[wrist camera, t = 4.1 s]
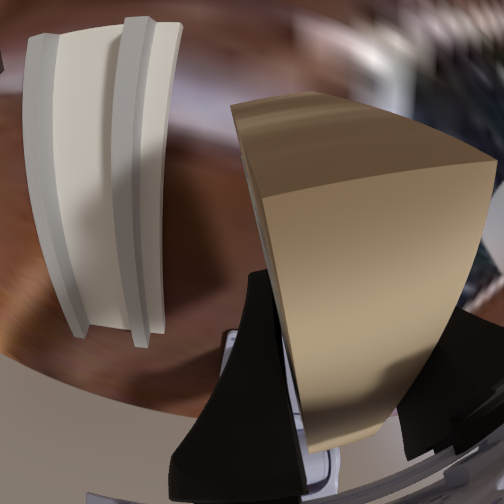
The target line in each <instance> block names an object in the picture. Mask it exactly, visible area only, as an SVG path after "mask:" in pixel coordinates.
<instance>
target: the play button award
mask: <svg viewBox="0 0 504 504" xmlns="http://www.w3.org/2000/svg"><path fill="white" fill-rule="evenodd" d="M3 70H4V66H3V62H2V57H1V52H0V73H1V72H2V71H3Z"/></svg>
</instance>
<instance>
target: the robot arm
mask: <svg viewBox="0 0 504 504" xmlns="http://www.w3.org/2000/svg"><path fill="white" fill-rule="evenodd" d="M396 407H397V412H398V416H399V421H400V425H401V431H402V437H403V443H404V451H405V455H406V458H407V461H410V460H412V459H414V458H416V457H418V456H420V455H422V454H424V453H426V452H428V451H430V450H432V449H433V450H434V453H435V455H433V456H431V457H429V458H427V459H425V460H424V461H422V462H419V463H417V464H415V465H413V466H411V467H409V468H407V469H404V470H402V471H400V472H398V473H395V474H393V475H390V476H388V477H385V478H383V479H380V480H378V481H375V482H372V483H369V484H367V485H363V486H361V487H357V488H354V489H351V490H348V491H344V492H341V493H337V488H338V471H339V468H340V451H339V447H336V448H333V449H329V450H325V451H321V452H317V453H313V454H309V452H308V447H307V442H306V438H305V433H304V428H303V424H302V422H301V419H300V414H299V410H298V405H297V400H296V396H295V391H294V387H293V382H292V378H291V373H290V368H289V364H288V359H287V355H286V351H285V346H284V342H283V337H282V332H281V327H280V322H279V318H278V313H277V308H276V304H275V299H274V295H273V290H272V286H271V281H270V277H269V273H268V269H265V270H260V271H256V272H251V273H250V274H249V275H248V287H247V294H246V300H245V305H244V309H243V313H242V318H241V322H240V325H239V328H238V331H237V330H232V331H229V332H228V334H227V339H226V344H225V349H224V355H223V360H222V365H221V370H220V379H219V381H218V383H217V385H216V387H215V389H214V391H213V393H212V395H211V397H210V399H209V400H208V402H207V404H206V405H205V407H204V409H203V411H202V412H201V414H200V416H199V417H198V419H197V420H196V423H195V424H194V425H193V427H192V428H191V430H190V431H189V433H188V434H187V435H186V437H185V438H184V440H183V441H182V442H181V444H180V445H179V446H178V448H177V449H176V450H175V452H174V453H173V454H172V456H171V461H170V466H169V474H168V484H169V485H168V486H169V499H170V500H171V501H175V502H187V503H194V504H365V503H367V502H370V501H373V500H376V499H379V498H381V497H384V496H387V495H389V494H392V493H394V492H396V491H399V490H401V489H403V488H405V487H408V486H410V485H412V484H414V483H416V482H418V481H420V480H422V479H424V478H426V477H428V476H430V475H432V474H434V473H436V472H438V471H439V470H441V469H443V468H445V467H446V466H448V465H450V464H452V463H453V462H455V461H456V460H458V459H460V458H461V457H463V456H464V455H466V454H467V453H469V452H470V451H472V450H473V449H475V448H476V447H478V446H479V449H478V451H476V452H474V453H472V454H470V455H469V456H467V457H465V458H463V459H462V460H460V461H458V462H456V463H455V464H453V465H452V466H451V467H449V468H448V469H447V470H445V471H444V473H443V474H444V478H443V479H441V480H439V481H437V482H435V483H433V484H431V485H429V486H427V487H425V488H422V489H420V490H418V491H416V492H414V493H412V494H409V495H406V496H404V497H402V498H399V499H396V500H394V501H392V502H389V503H386V504H504V327H502V326H499V325H496V324H494V323H491V322H489V321H486V320H484V319H482V318H479V317H477V316H475V315H473V314H471V313H469V312H467V311H465V310H463V309H461V308H459V307H457V306H455V308H454V310H453V312H452V315H451V317H450V319H449V321H448V323H447V325H446V327H445V329H444V331H443V333H442V335H441V337H440V338H439V340H438V342H437V344H436V346H435V348H434V349H433V351H432V353H431V355H430V356H429V358H428V360H427V361H426V363H425V365H424V366H423V368H422V370H421V371H420V373H419V374H418V376H417V377H416V379H415V381H414V382H413V384H412V385H411V387H410V388H409V389H408V391H407V392H406V394H405V395H404V397H403V398H402V399H401V401H400V402H399V404H398V405H397V406H396ZM86 504H143V503H137V502H131V501H126V500H121V499H114V498H110V497H106V496H102V495H98V494H94V493H90V492H87V493H86Z"/></svg>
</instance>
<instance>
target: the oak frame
mask: <svg viewBox="0 0 504 504" xmlns="http://www.w3.org/2000/svg"><path fill="white" fill-rule="evenodd" d="M230 108H231V112H232V116H233V120H234V124H235V128H236V132H237V137H238V141H239V145H240V149H241V153H242V156H241V158H242V162H243V166H244V171H245V175H246V179H247V183H248V187H249V192H250V196H251V200H252V204H253V209H254V213H255V217H256V222H257V226H258V230H259V235H260V239H261V243H262V248H263V252H264V257H265V261H266V265H267V269H268V273H269V277H270V281H271V286H272V290H273V295H274V299H275V304H276V308H277V313H278V318H279V322H280V327H281V332H282V337H283V342H284V346H285V351H286V355H287V359H288V364H289V368H290V373H291V378H292V382H293V387H294V391H295V396H296V400H297V405H298V410H299V414H300V419H301V422H302V424H303V428H304V433H305V438H306V442H307V447H308V452H309V454H313V453H317V452H321V451H325V450H329V449H333V448H336V447H340V446H343V445H346V444H350V443H353V442H356V441H359V440H362V439H365V438H367V437H370V436H373V435H374V434H375V433H376V432H377V430H378V429H379V428H380V427H381V425H382V424H383V423H384V422H385V421H386V419H387V418H388V417H389V416H390V414H391V413H392V412H393V410H394V409H395V408H396V406H397V405H398V404H399V402H400V401H401V399H402V398H403V397H404V395H405V394H406V392H407V391H408V389H409V388H410V387H411V385H412V384H413V382H414V381H415V379H416V377H417V376H418V374H419V373H420V371H421V370H422V368H423V366H424V365H425V363H426V361H427V360H428V358H429V356H430V355H431V353H432V351H433V349H434V348H435V346H436V344H437V342H438V340H439V338H440V337H441V335H442V333H443V331H444V329H445V327H446V325H447V323H448V321H449V319H450V317H451V315H452V312H453V310H454V308H455V306H456V304H457V301H458V299H459V297H460V295H461V292H462V290H463V287H464V285H465V282H466V280H467V277H468V275H469V272H470V269H471V267H472V264H473V261H474V258H475V255H476V252H477V249H478V246H479V243H480V239H481V236H482V232H483V229H484V225H485V221H486V217H487V213H488V209H489V205H490V200H491V196H492V191H493V185H494V180H495V173H496V167H497V160H496V159H494V158H492V157H490V156H489V155H487V154H485V153H483V152H481V151H480V150H478V149H476V148H474V147H472V146H470V145H468V144H466V143H464V142H462V141H460V140H458V139H456V138H454V137H452V136H450V135H447V134H445V133H443V132H441V131H438V130H436V129H434V128H431V127H429V126H427V125H424V124H422V123H419V122H416V121H414V120H411V119H409V118H406V117H403V116H400V115H397V114H394V113H392V112H389V111H385V110H382V109H379V108H376V107H373V106H369V105H366V104H362V103H359V102H355V101H351V100H348V99H344V98H340V97H335V96H331V95H327V94H322V93H317V92H312V91H310V92H302V93H294V94H287V95H281V96H275V97H269V98H263V99H258V100H253V101H248V102H243V103H239V104H234V105H230Z"/></svg>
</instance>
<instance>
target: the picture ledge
mask: <svg viewBox="0 0 504 504" xmlns="http://www.w3.org/2000/svg"><path fill="white" fill-rule="evenodd" d="M182 30H183V25H182V24H181V23H176V22H158V23H157V22H155V21H154V20H153V19H152V18H150V17H149V16H142V17H128V18H125V22H124V24H123V25H113V26H105V27H98V28H91V29H86V30H80V31H75V32H70V33H66V34H61V35H57V34H48V33H43V34H40V35H37V36H33V37H30V38H29V41H28V47H27V54H26V62H25V71H24V84H23V142H24V155H25V165H26V174H27V181H28V188H29V194H30V200H31V205H32V210H33V215H34V220H35V224H36V229H37V233H38V237H39V241H40V245H41V248H42V252H43V255H44V259H45V262H46V265H47V268H48V272H49V275H50V278H51V281H52V283H53V286H54V289H55V292H56V295H57V297H58V300H59V302H60V305H61V307H62V310H63V312H64V315H65V317H66V320H67V322H68V324H69V326H70V329H71V331H72V333H73V335H74V337H78V338H83V339H85V337H86V334H87V331H88V328H89V325H90V324H92V325H98V326H105V327H112V328H119V329H126V330H131V332H132V336H133V341H134V345H135V347H142V348H148V344H149V338H150V332H152V333H161V334H164V331H165V310H164V292H163V261H162V216H163V185H164V167H165V152H166V140H167V129H168V120H169V111H170V102H171V95H172V87H173V80H174V74H175V68H176V62H177V56H178V50H179V45H180V40H181V35H182Z"/></svg>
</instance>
